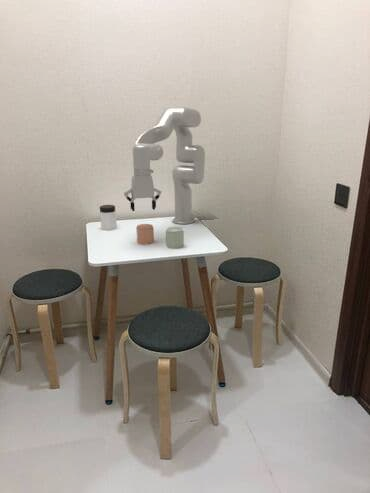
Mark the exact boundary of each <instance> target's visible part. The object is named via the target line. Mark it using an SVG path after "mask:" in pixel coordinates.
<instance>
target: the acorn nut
mask: <svg viewBox="0 0 370 493" xmlns="http://www.w3.org/2000/svg"><path fill="white" fill-rule="evenodd" d="M184 240H185V237H184V229H183V228H182V227H179V226H169V227H167V228H166V230H165V245H166V248H170V249H181V248H183V247H184V246H185V241H184Z"/></svg>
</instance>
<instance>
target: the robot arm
mask: <svg viewBox="0 0 370 493" xmlns="http://www.w3.org/2000/svg"><path fill="white" fill-rule="evenodd" d="M201 121H202V117H201V113H200V111H198V110H197V109H194V108H190V107H186V106H184V107H183V106H181V107H180V106H179V107H178V106H177V107H168V108H165V109H164V110H163V111H162V112H161V115H160V117H159V118H158V120H157V122H156V124H155V125H154V126H152V127H151V128H149V129H148V130H146V131H144V132H143V133H142V134H140V135H139V136H138V138H137V140H135V143H134V145H133V147H132V161H133V162H132V164H133V175H132V176H131V184H130V187H131V188H130V189H129V190H127V191H124V192H123V195H124V197H125V198H126V200H127V201H129V202H130V210H131V211H133V212H135V202H134V201H135V200H136V199H147V198H148V199H149V198H151V199H152V200H151V208H152V210H153V211H155V210H156V207H157V200H159V198H160V197H161V195H162V190H160V189H158V188H155V187H154V179H153V176H152V175H151V174H153V173H154V170H153V169H151V161H159V160H161V159H162V157H163V154H164V149H163V147H162V145H160V144H158V143H159V142H163V141H166V140H167V139H169V137H170V136H171V135H172V132H173V131H174V132H175V137H176V144H175V145H176V146H175V158H176V161H177V162H179V163H183V164H184V165H183V164H181V165H176V166H174V167H173V169H172V172H171V174H172V181H173V187H174V217H175V218H173V219H172V223H174V224H176V225H188V224H189V225H190V224H193V223H194V222H195V218H196V219H198V218H201V215H200V214H197V213H192V211H193V207H192V203H193V202H192V201H193V200H192V198H193V197H192V196H193V195H192V188H191V186H190V184H192V185H200V184H202V183H203V181H204V177H205V167H206V164H205V163H206V152H205V148H204V147H203V146H202V145H199V144H198V145H197V144H193V133H192V131H191V129H189V128H197V127H199V126H200V125H201ZM185 164H193V165H185ZM155 192H156V195H155ZM129 194H131V197H129Z"/></svg>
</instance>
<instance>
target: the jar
mask: <svg viewBox="0 0 370 493" xmlns="http://www.w3.org/2000/svg"><path fill="white" fill-rule="evenodd" d="M99 214H100V226H101V230H103V231H104V230H105V231H111V230H115V229H118V224H117V213H116V206H115V205H113V204H103V205H100V206H99Z"/></svg>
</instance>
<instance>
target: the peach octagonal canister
mask: <svg viewBox="0 0 370 493" xmlns="http://www.w3.org/2000/svg"><path fill="white" fill-rule="evenodd" d="M135 230H136V242H137V245H144V246H145V245H152V244H153V243H155V238H154V237H155V236H154V235H155V233H154V226H153V224H150V223H143V224H138V225H136V229H135Z"/></svg>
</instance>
